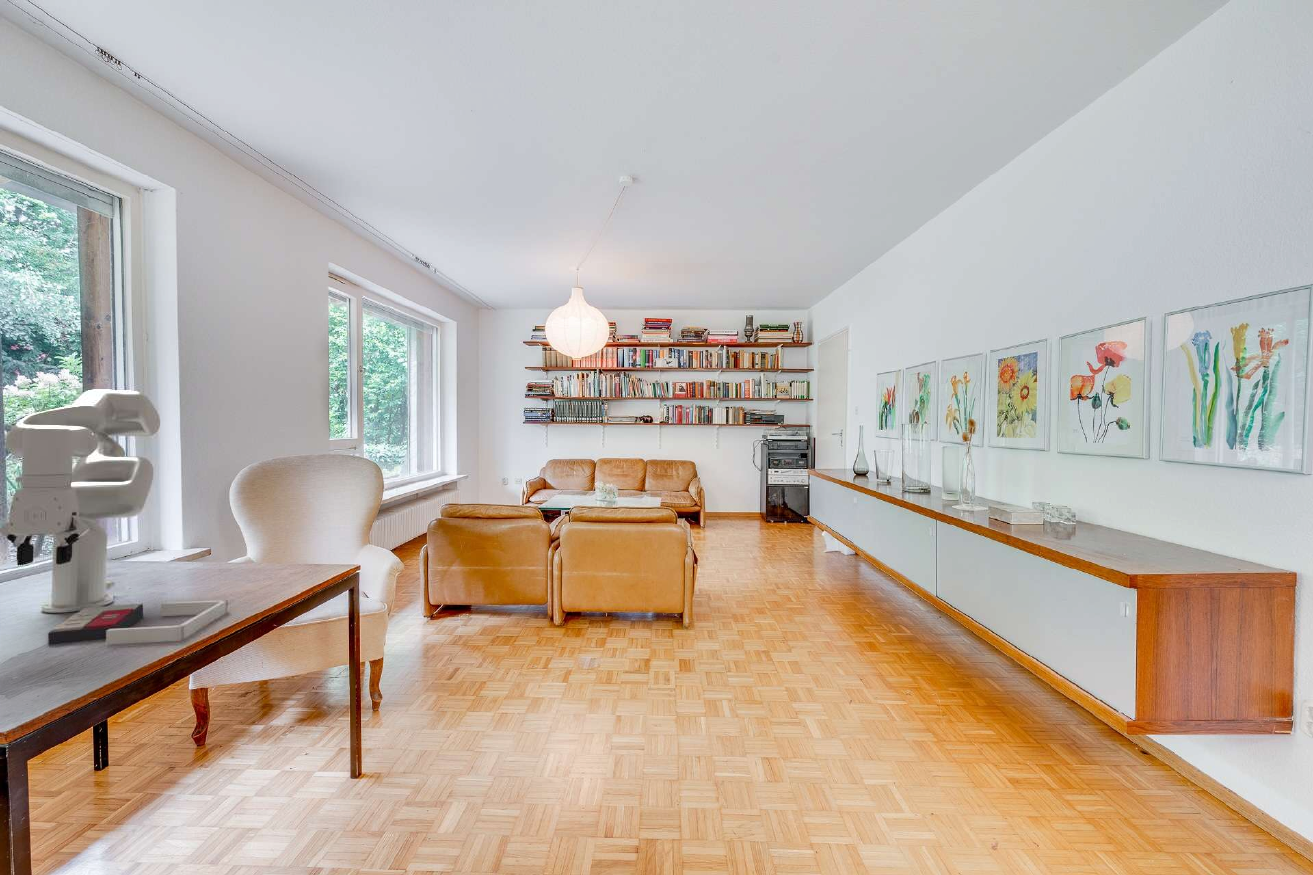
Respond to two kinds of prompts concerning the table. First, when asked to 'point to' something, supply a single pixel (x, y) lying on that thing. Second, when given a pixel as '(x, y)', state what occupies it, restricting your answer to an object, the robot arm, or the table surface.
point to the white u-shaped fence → (171, 633)
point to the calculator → (95, 623)
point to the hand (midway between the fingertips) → (44, 562)
